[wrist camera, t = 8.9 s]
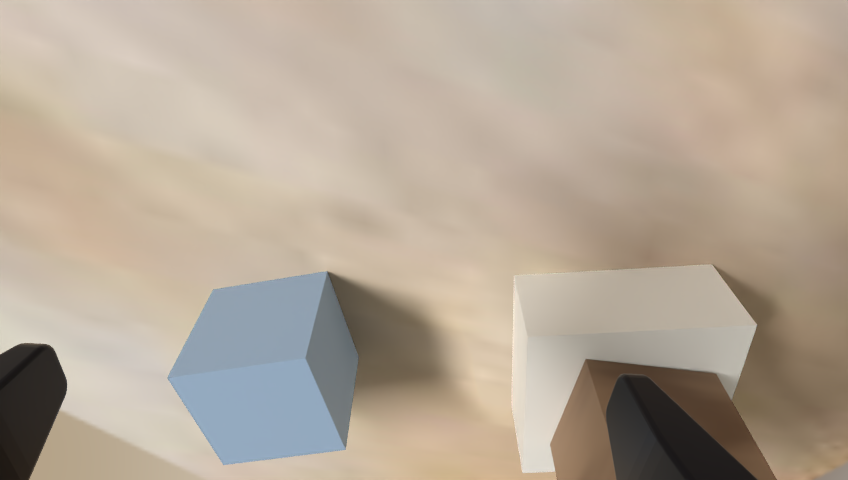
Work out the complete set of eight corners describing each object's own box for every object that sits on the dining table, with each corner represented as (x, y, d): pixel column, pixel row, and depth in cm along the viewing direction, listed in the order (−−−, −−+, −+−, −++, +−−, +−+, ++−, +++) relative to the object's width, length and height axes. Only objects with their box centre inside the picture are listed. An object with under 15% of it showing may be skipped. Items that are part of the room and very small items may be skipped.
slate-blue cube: (327, 270, 23) (305, 358, 19) (358, 355, 25) (345, 449, 21) (213, 288, 23) (167, 377, 19) (256, 370, 26) (223, 465, 22)
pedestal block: (708, 259, 23) (757, 325, 19) (674, 392, 27) (709, 465, 24) (512, 270, 23) (527, 336, 20) (510, 400, 27) (522, 472, 24)
